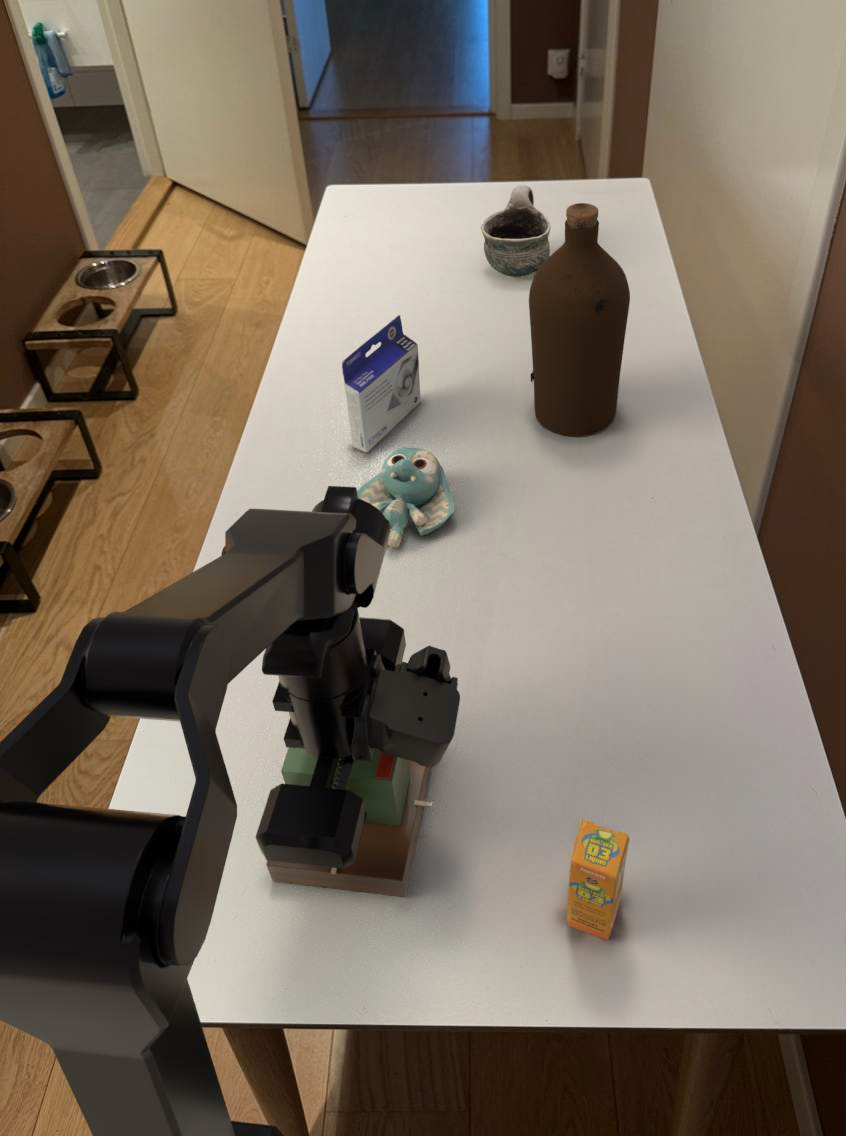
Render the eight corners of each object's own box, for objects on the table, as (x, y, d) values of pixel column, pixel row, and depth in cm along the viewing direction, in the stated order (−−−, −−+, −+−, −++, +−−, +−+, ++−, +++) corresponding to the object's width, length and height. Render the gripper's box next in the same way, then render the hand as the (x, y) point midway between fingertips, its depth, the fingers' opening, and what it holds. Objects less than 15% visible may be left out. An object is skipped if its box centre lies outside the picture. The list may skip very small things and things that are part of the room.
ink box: (368, 455, 107) (355, 369, 99) (351, 449, 108) (337, 363, 100) (424, 401, 114) (416, 317, 106) (408, 396, 115) (399, 312, 107)
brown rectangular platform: (420, 900, 69) (417, 882, 67) (257, 881, 70) (250, 863, 68) (447, 754, 78) (445, 735, 76) (302, 739, 79) (297, 720, 77)
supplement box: (562, 929, 67) (565, 858, 60) (577, 884, 69) (582, 811, 62) (608, 946, 66) (617, 876, 59) (622, 900, 68) (632, 828, 61)
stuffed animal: (324, 508, 92) (368, 418, 99) (340, 550, 98) (380, 462, 105) (429, 529, 89) (467, 434, 96) (438, 571, 95) (474, 479, 102)
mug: (481, 287, 134) (478, 219, 127) (484, 244, 143) (482, 180, 136) (550, 286, 133) (551, 218, 126) (549, 243, 142) (550, 178, 136)
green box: (294, 815, 71) (280, 769, 67) (308, 768, 74) (295, 721, 70) (400, 826, 70) (392, 779, 66) (410, 778, 73) (402, 730, 69)
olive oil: (638, 407, 111) (657, 203, 95) (586, 453, 105) (596, 244, 89) (564, 376, 117) (570, 178, 100) (510, 418, 111) (506, 215, 94)
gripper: (420, 807, 54) (439, 930, 64) (466, 568, 67) (475, 701, 78) (230, 789, 55) (279, 912, 65) (313, 558, 69) (342, 690, 79)
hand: (353, 794), depth 72 cm, fingers open, 9 cm apart
